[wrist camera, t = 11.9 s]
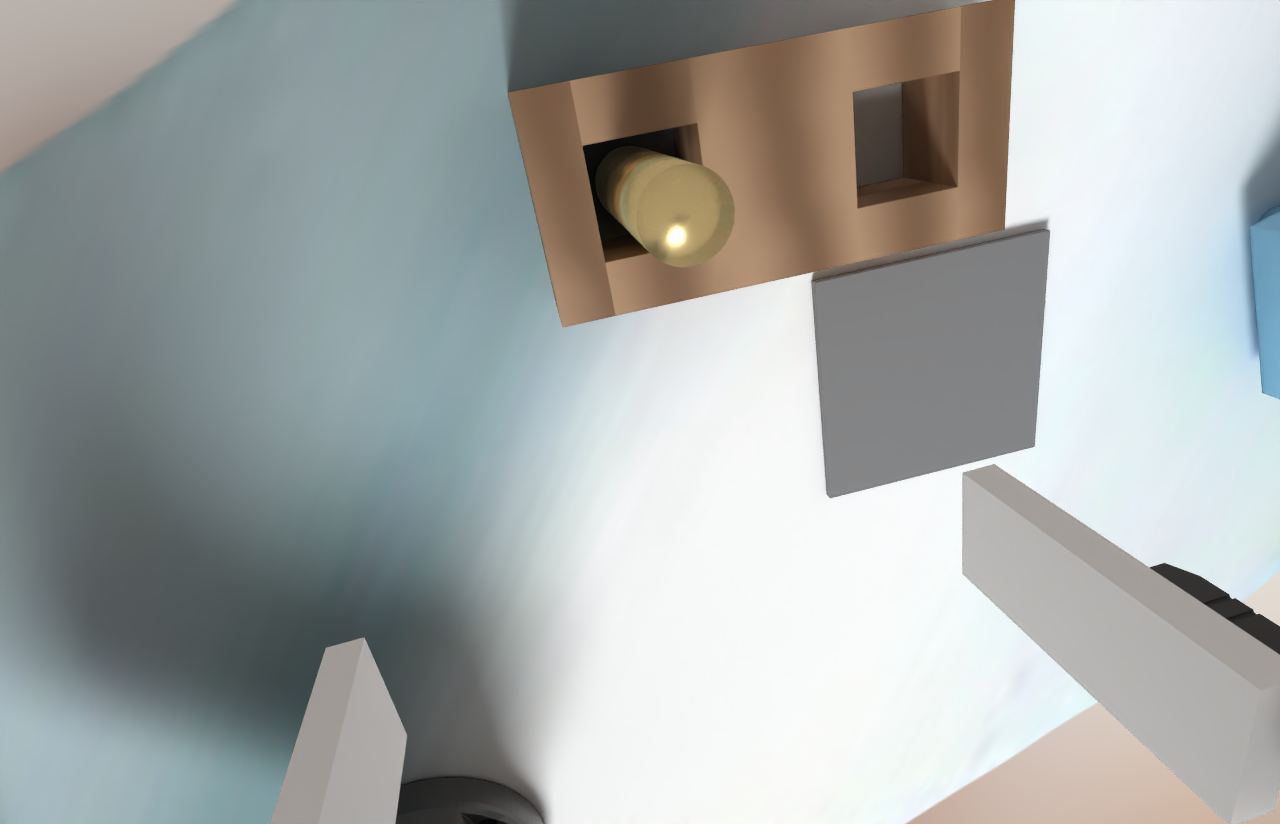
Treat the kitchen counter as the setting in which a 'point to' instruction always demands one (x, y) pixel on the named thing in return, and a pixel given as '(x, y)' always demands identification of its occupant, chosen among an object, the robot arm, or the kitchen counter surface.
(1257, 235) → the teakettle
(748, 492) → the kitchen counter surface
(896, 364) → the mat
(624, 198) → the peg
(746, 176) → the hole block
